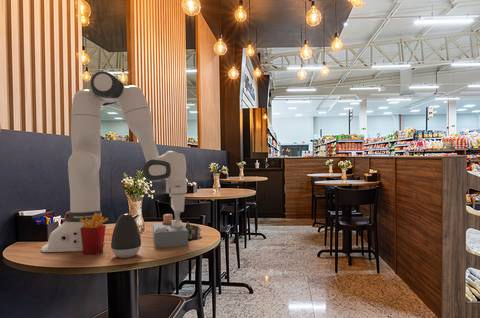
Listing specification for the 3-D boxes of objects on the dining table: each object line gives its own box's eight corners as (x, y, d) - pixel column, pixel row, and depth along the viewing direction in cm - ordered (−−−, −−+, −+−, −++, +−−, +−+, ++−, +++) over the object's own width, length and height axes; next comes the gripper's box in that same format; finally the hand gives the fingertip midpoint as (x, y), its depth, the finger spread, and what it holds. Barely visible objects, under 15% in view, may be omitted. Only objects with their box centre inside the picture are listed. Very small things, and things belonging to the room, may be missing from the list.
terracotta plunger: (163, 226, 148) (163, 215, 148) (163, 225, 152) (163, 214, 152) (172, 226, 149) (172, 215, 150) (172, 224, 153) (172, 213, 153)
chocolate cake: (202, 242, 143) (204, 219, 151) (186, 238, 141) (189, 215, 150) (195, 253, 149) (198, 230, 157) (180, 249, 147) (183, 227, 156)
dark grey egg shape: (147, 254, 121) (147, 212, 121) (123, 261, 112) (122, 216, 112) (129, 250, 126) (129, 210, 127) (105, 257, 118) (104, 214, 118)
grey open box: (154, 248, 130) (154, 232, 130) (153, 236, 152) (153, 223, 152) (187, 245, 134) (187, 230, 134) (181, 234, 156) (181, 221, 156)
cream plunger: (172, 233, 141) (172, 221, 141) (171, 231, 144) (171, 220, 144) (181, 232, 142) (181, 220, 142) (180, 231, 145) (180, 219, 146)
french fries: (79, 255, 121) (79, 213, 122) (92, 249, 130) (92, 210, 130) (101, 255, 120) (101, 214, 120) (113, 249, 128) (113, 210, 129)
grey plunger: (157, 241, 132) (156, 228, 132) (156, 239, 136) (156, 227, 136) (167, 240, 133) (167, 228, 133) (166, 238, 137) (166, 226, 137)
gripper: (167, 187, 153) (168, 217, 152) (170, 190, 133) (171, 224, 133) (181, 186, 154) (182, 216, 154) (186, 189, 135) (187, 223, 134)
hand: (177, 220), depth 143 cm, fingers closed, pressing on cream plunger
